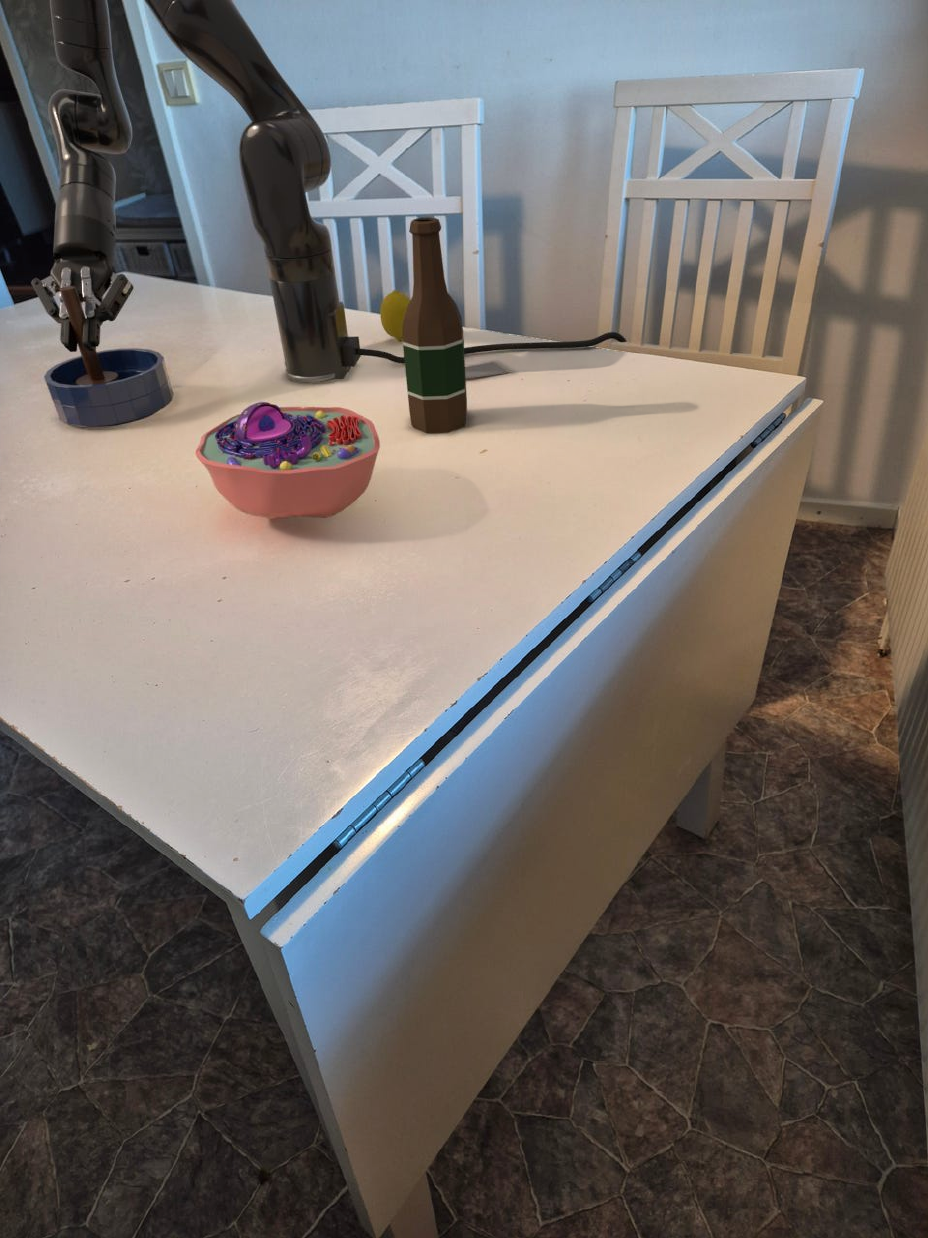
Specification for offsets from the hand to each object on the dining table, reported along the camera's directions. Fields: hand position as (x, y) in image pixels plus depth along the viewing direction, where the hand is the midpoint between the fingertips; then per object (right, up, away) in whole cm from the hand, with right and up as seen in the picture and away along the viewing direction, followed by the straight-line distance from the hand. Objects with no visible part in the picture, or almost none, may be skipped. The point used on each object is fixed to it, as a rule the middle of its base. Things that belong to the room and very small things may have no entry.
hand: (79, 348), depth 108 cm
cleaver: (+51, -1, +10) cm, 52 cm away
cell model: (+34, -24, -20) cm, 46 cm away
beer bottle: (+48, -11, -3) cm, 49 cm away
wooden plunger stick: (0, -4, +5) cm, 7 cm away
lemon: (+41, +10, +25) cm, 49 cm away
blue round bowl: (+2, -6, +7) cm, 10 cm away
